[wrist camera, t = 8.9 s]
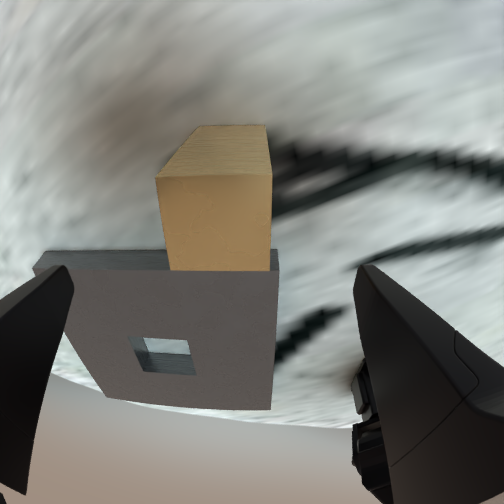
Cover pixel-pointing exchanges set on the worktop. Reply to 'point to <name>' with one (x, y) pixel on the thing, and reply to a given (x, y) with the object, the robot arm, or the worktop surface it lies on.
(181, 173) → the brass peg
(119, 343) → the post plate
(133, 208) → the worktop surface
